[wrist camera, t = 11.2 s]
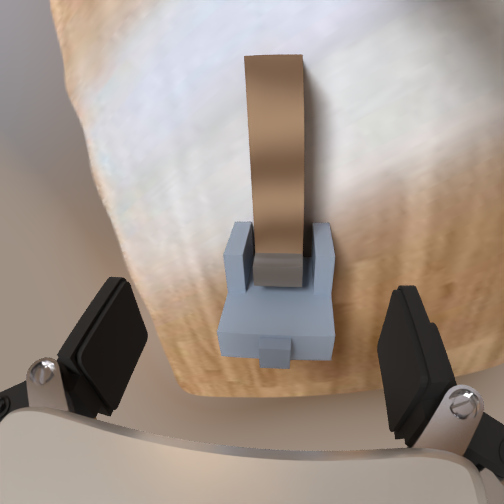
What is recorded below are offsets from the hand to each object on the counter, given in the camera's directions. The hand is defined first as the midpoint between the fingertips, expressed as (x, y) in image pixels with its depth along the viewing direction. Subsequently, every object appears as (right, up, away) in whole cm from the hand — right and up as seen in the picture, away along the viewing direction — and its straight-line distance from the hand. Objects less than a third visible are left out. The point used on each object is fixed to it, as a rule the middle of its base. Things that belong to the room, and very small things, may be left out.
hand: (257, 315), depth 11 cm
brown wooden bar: (+2, +11, +16) cm, 20 cm away
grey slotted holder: (+3, +3, +22) cm, 22 cm away
